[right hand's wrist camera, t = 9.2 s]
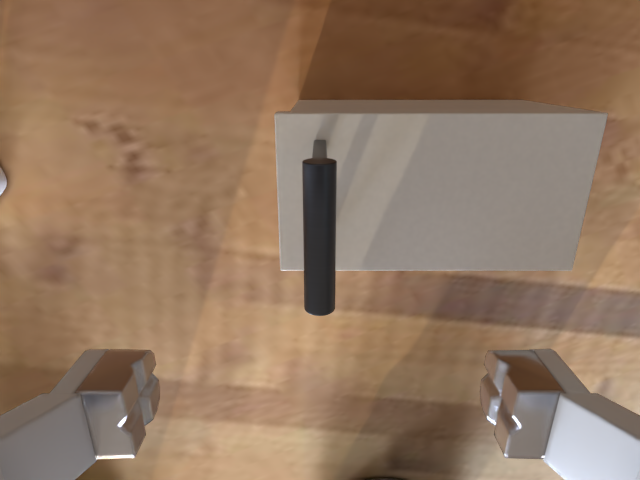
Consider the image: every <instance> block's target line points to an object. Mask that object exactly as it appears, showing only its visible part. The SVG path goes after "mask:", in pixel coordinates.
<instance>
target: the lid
mask: <svg viewBox="0 0 640 480" xmlns="http://www.w3.org/2000/svg"><path fill="white" fill-rule="evenodd" d="M607 116H608V113H604V112H598V111H380V112H276V113H275V139H276V166H277V193H278V219H279V246H280V270H304V307H305V310H306V312H308V313H309V314H312V315H316V316H323V315H328V314H330V313H332V312H333V311H334V309H335V270H490V271H571V270H572V268H573V263H574V259H575V255H576V250H577V246H578V242H579V237H580V233H581V229H582V224H583V220H584V216H585V211H586V207H587V203H588V198H589V194H590V190H591V185H592V181H593V177H594V172H595V168H596V164H597V159H598V155H599V151H600V146H601V142H602V138H603V133H604V129H605V125H606V120H607Z"/></svg>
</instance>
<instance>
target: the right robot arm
mask: <svg viewBox="0 0 640 480" xmlns="http://www.w3.org/2000/svg"><path fill="white" fill-rule="evenodd" d="M6 185H7V179H6V176H5V174H4V172H3V170H2V168H1V167H0V195H1V194H2V192H3V191H4V190H5V188H6ZM155 366H156V361H155V357H154V353H153V352H152V351H151V350H124V349H110V350H109V349H89V350H87V351H85V352H84V353H83V354H82V355H81V356H80V357H79V359H78V360H77V361H76V362H75V363H74V365H73V366H72V367H71V368H70V369H69V371H68V372H67V373H66V374H65V375H64V376H63V378H62V379H61V380H60V381H59V382H58V384H57V385H56V386H55V387H54V388H53V390H52V391H51V392H50V393H43V394H41V395H39V396H37V397H35V398H33V399H31V400H29V401H27V402H25V403H23V404H22V405H20V406H18V407H16V408H14V409H12V410H10V411H8V412H6V413H4V414H2V415H0V480H75V479H76V478H77V477H79V476H80V475H81V474H82V473H83V472H84V471H86V470H87V469H88V468H89V467H90V466H91V465H93V464H94V463H95V462H96V459H115V458H135V456H136V454H137V452H138V450H139V448H140V446H141V444H142V442H143V440H144V438H145V436H146V432H145V425H147V424H148V423H149V422H151V421H152V420H153V419H154V416H155V414H156V412H157V409H158V405H159V400H160V385H159V380H158V379H157V378H156V377H155V376H154V375H153V374H152V371H153V370H154V368H155ZM484 366H485V368H486V370H487V371H488V374H487V375H486V376H485V377H484V378H483V379H482V380H481V386H480V399H481V405H482V409H483V412H484V414H485V417H486V419H487V420H488V421H489V422H491V423H492V424H493V425H495V432H494V436H495V438H496V440H497V442H498V444H499V446H500V448H501V450H502V452H503V454H504V456H505V458H524V459H544V460H543V461H544V462H545V463H546V464H548V465H549V466H550V467H551V468H552V469H553V470H555V471H556V472H557V473H558V474H559V475H560V476H562V477H563V478H564V479H565V480H640V416H639V415H638V414H636V413H634V412H632V411H630V410H628V409H626V408H624V407H622V406H620V405H618V404H617V403H615V402H613V401H611V400H609V399H607V398H605V397H603V396H601V395H599V394H597V393H590V392H589V391H588V390H587V388H586V387H585V386H584V385H583V384H582V382H581V381H580V380H579V379H578V378H577V377H576V375H575V374H574V373H573V372H572V371H571V369H570V368H569V367H568V366H567V365H566V363H565V362H564V361H563V360H562V359H561V358H560V356H559V355H558V354H557V353H556V352H555V351H554V350H552V349H531V350H492V351H488V352H487V354H486V356H485V361H484Z"/></svg>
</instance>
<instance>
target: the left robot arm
mask: <svg viewBox="0 0 640 480" xmlns="http://www.w3.org/2000/svg"><path fill="white" fill-rule="evenodd" d="M367 480H400V479H394V478H374V479H367Z"/></svg>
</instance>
